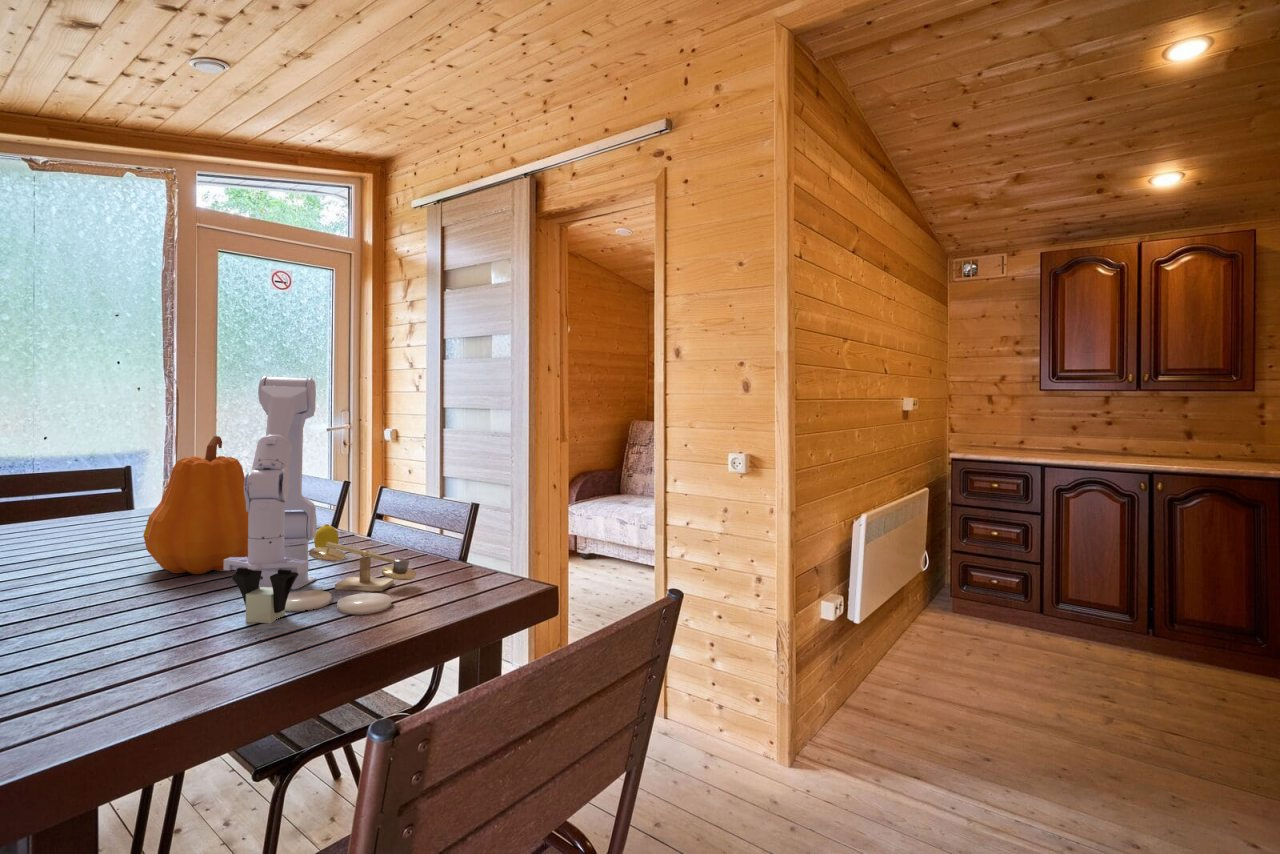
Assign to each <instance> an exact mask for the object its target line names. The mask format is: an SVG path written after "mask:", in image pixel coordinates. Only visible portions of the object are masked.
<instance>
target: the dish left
mask: <svg viewBox="0 0 1280 854" xmlns="http://www.w3.org/2000/svg"><path fill="white" fill-rule="evenodd" d="M331 603H332V594H331V593H330V592H328V591H326V590H317V589H315V590H313V589H312V590H309V589H308V590H299V591H293V592H289V595H288V598H287V601H286V605H285V612H291V611H296V612H306V611H305V610H308V611H312V610H313V609H314V610H317V609H321V608H324V607H327V606H328V605H330V604H331Z"/></svg>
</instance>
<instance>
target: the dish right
mask: <svg viewBox="0 0 1280 854" xmlns="http://www.w3.org/2000/svg"><path fill="white" fill-rule="evenodd" d="M336 603H337V604H336V605H337V609H336V610H337V611H338V612H339V613H341V614H345V615H346V614H347V615H353V616H354V615H355V616H356V615H369V614H375V613H380V612H383V611H385V610H387V609H389V608H390V607H391V606H392V596H390V595H388V594H386V593H385V594H384V593H380V592H379V593H378V592H363V593H356V594H352V595H351V594H350V595H347V596H344V597H342V598H340V599H339V600H337V602H336Z"/></svg>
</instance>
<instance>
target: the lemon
mask: <svg viewBox="0 0 1280 854" xmlns="http://www.w3.org/2000/svg"><path fill="white" fill-rule="evenodd" d="M339 538H340V537H339V533H338V530H337V529H336V527H334V526H332V525H330V524H329V523H326V524H324V525H322V526H320V527H319V528H318V529H316V534H315V537H314V538H313V541H314V542H313V543H314V548H317V547H326V548H328V546H326V543H327V542H332V543H336V544H339V541H340V539H339ZM330 548H332V547H330ZM333 549H336V548H333Z"/></svg>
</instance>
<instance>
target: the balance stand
mask: <svg viewBox="0 0 1280 854" xmlns="http://www.w3.org/2000/svg"><path fill="white" fill-rule="evenodd" d="M371 561H372V558H370V557H366V556H365V557H362V556H361V557H359V576H347V577H345V578H344V579H342V580H341V581H339V582H337V583H335V584H334V589H335V590H342V591H343V590H345V591H366V592H383V591H385V590H386V589H388V588H389V587H391V586H392V585H394V583H395V581H394V580H395V579H392V578H387V577H386V578H383V577H382V578H380V577H371V565H372V564H371V563H372V562H371Z"/></svg>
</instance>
